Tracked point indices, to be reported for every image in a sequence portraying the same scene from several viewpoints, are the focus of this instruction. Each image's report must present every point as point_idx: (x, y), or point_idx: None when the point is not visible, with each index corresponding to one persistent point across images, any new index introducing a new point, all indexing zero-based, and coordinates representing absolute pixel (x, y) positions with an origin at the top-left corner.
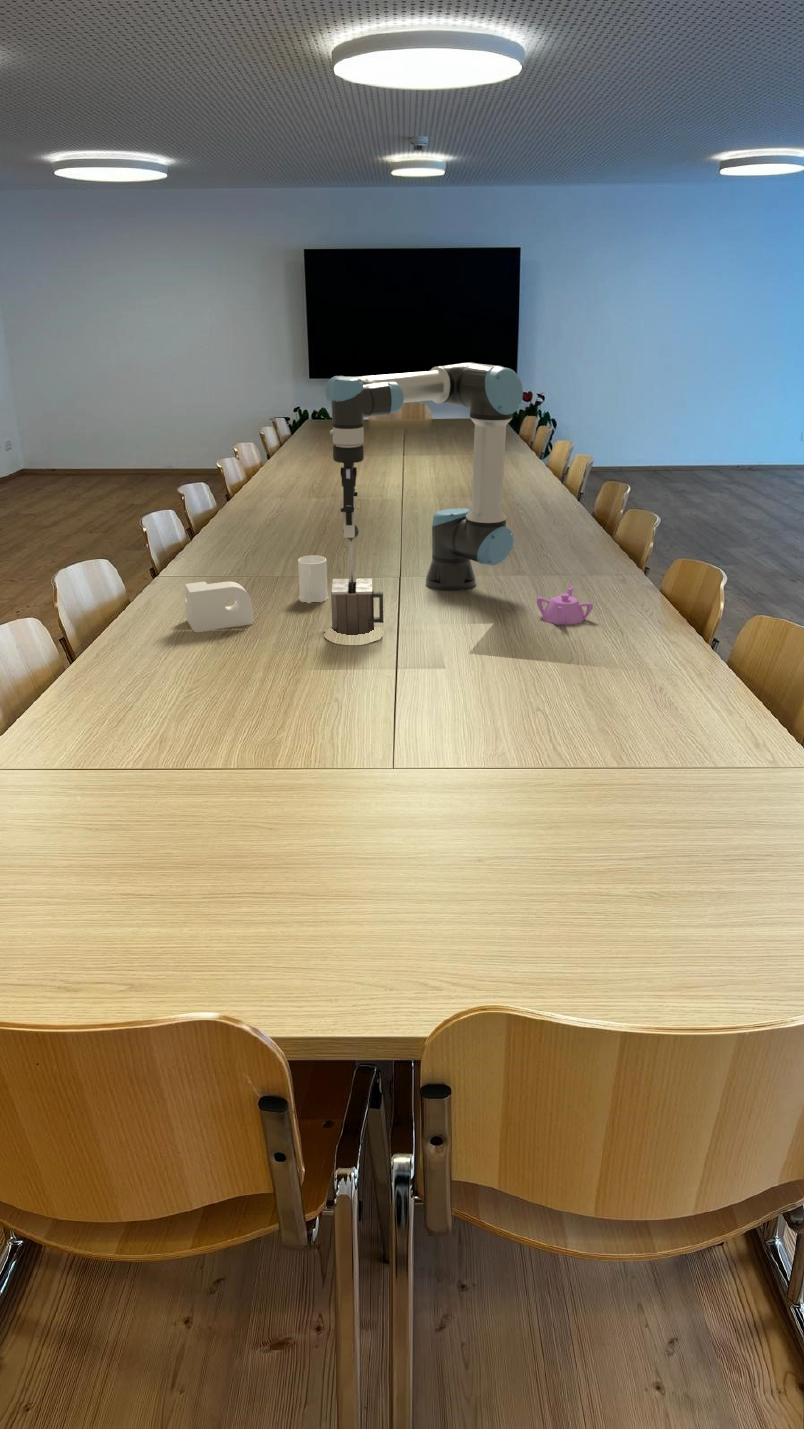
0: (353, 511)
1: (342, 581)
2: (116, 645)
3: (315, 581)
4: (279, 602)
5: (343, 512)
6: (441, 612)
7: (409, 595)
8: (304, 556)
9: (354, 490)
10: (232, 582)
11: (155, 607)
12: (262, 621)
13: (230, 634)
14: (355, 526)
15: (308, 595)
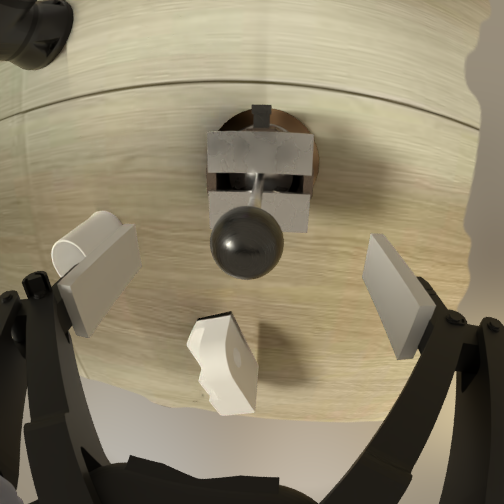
0: (457, 313)
1: (230, 206)
2: (276, 411)
3: None
4: None
5: (412, 354)
6: (160, 16)
7: (82, 80)
8: (61, 276)
9: (14, 300)
10: (208, 377)
11: (170, 392)
12: (202, 301)
13: (252, 334)
14: (257, 232)
15: None
